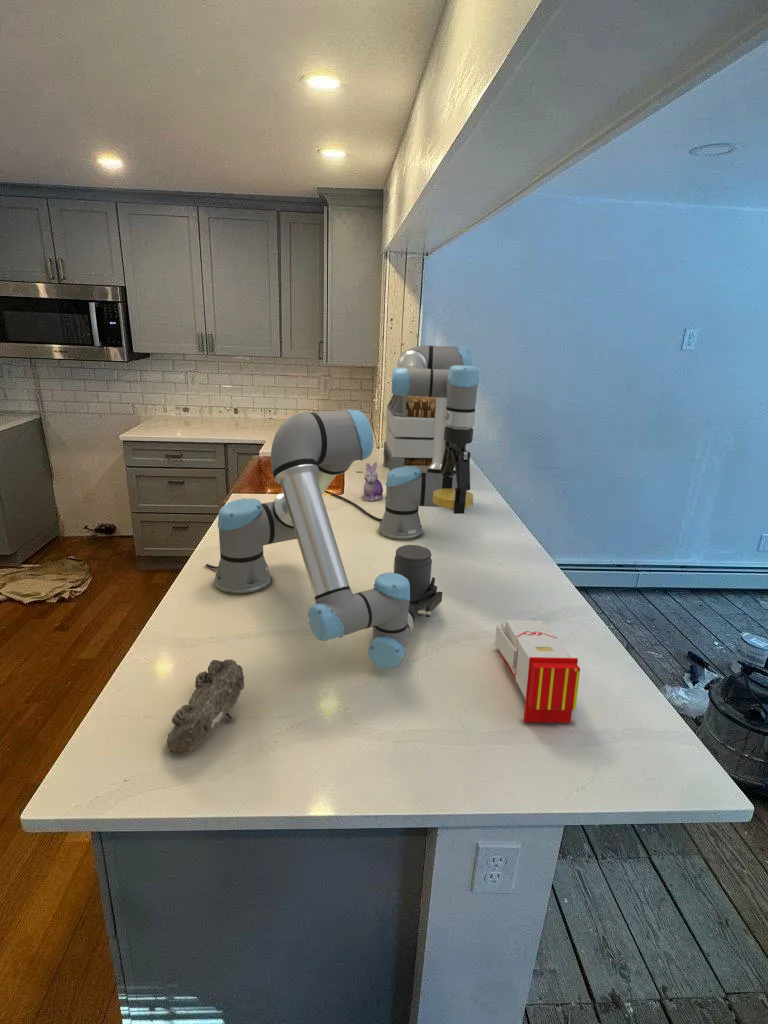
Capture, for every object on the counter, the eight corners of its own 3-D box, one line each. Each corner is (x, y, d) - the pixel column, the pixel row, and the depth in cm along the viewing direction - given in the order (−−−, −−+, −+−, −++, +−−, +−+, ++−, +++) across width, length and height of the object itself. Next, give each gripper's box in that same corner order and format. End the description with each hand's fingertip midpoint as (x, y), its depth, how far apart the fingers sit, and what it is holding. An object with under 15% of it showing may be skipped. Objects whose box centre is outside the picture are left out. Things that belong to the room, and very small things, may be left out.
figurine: (367, 502, 230) (368, 467, 225) (357, 495, 238) (358, 460, 233) (388, 500, 234) (389, 465, 229) (377, 492, 242) (378, 458, 237)
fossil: (192, 660, 117) (244, 628, 112) (224, 691, 120) (276, 661, 115) (142, 746, 98) (202, 712, 93) (182, 779, 101) (242, 748, 96)
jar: (384, 604, 152) (387, 550, 146) (410, 594, 158) (413, 541, 152) (409, 619, 145) (413, 562, 140) (435, 608, 151) (440, 553, 146)
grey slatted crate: (382, 463, 289) (386, 382, 275) (445, 464, 293) (451, 384, 279) (390, 482, 257) (394, 392, 243) (460, 483, 261) (468, 394, 247)
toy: (541, 605, 135) (589, 664, 106) (536, 657, 138) (581, 729, 108) (490, 604, 135) (524, 663, 105) (486, 656, 137) (518, 728, 108)
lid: (469, 511, 149) (470, 502, 148) (428, 505, 152) (429, 497, 151) (475, 499, 159) (476, 491, 158) (436, 494, 162) (437, 486, 161)
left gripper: (351, 627, 136) (373, 586, 157) (444, 641, 132) (454, 597, 153) (352, 599, 134) (374, 561, 154) (447, 613, 129) (456, 572, 150)
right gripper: (433, 418, 158) (427, 493, 166) (459, 436, 137) (452, 521, 144) (458, 418, 160) (452, 492, 167) (489, 436, 138) (480, 520, 146)
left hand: (414, 579), depth 153 cm, fingers closed on jar, 10 cm apart
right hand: (452, 506), depth 156 cm, fingers closed on lid, 11 cm apart
